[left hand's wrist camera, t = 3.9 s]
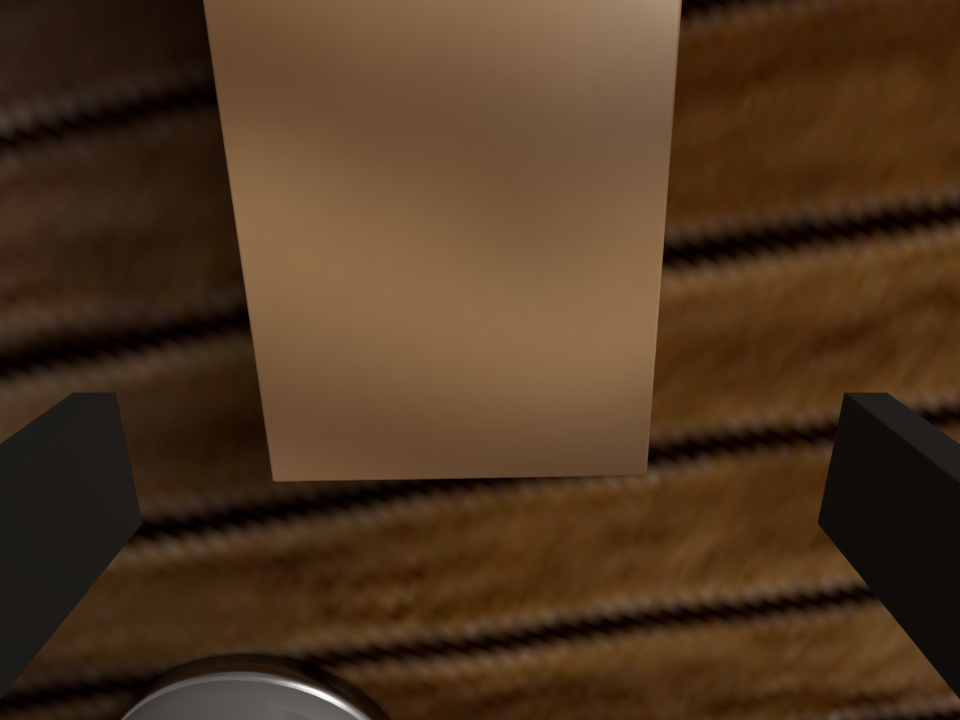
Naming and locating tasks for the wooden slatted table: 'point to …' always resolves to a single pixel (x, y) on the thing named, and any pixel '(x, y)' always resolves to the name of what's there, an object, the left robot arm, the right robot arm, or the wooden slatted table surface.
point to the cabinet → (450, 229)
